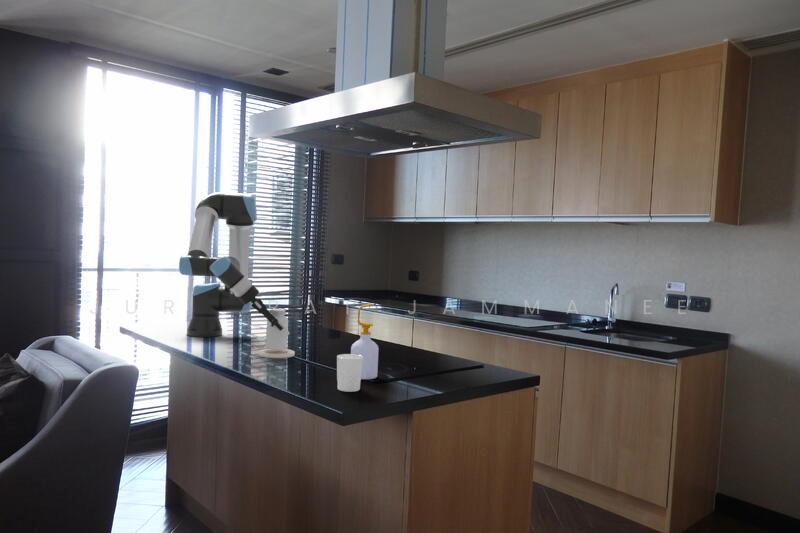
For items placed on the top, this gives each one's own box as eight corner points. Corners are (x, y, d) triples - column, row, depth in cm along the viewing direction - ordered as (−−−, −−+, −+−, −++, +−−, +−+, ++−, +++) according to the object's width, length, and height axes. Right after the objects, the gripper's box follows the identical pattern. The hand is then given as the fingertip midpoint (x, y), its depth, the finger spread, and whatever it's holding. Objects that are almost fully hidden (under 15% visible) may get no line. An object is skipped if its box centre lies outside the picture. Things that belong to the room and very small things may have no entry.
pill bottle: (284, 350, 220) (286, 311, 220) (263, 349, 220) (265, 309, 220) (288, 347, 228) (290, 309, 228) (268, 345, 228) (270, 307, 228)
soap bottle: (377, 380, 190) (381, 305, 189) (349, 379, 189) (353, 304, 189) (376, 374, 199) (380, 302, 198) (350, 373, 198) (353, 301, 198)
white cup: (356, 393, 171) (358, 359, 171) (331, 390, 173) (333, 357, 173) (365, 387, 179) (366, 355, 179) (341, 385, 181) (342, 353, 181)
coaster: (256, 351, 229) (256, 348, 229) (291, 351, 233) (292, 347, 233) (259, 358, 215) (259, 354, 215) (297, 358, 220) (297, 354, 220)
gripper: (235, 295, 229) (275, 336, 234) (238, 300, 209) (282, 345, 215) (250, 282, 230) (289, 323, 236) (254, 286, 211) (297, 330, 216)
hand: (285, 333), depth 225 cm, fingers closed on pill bottle, 8 cm apart
